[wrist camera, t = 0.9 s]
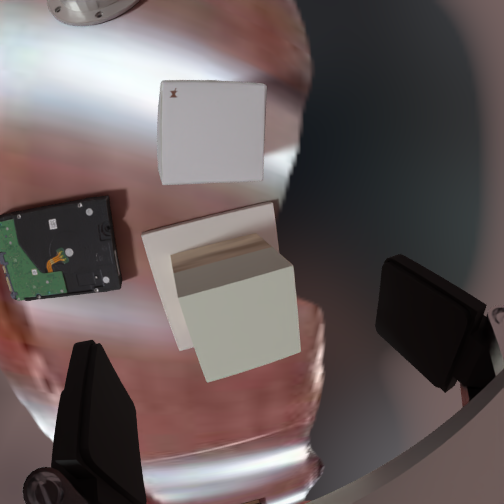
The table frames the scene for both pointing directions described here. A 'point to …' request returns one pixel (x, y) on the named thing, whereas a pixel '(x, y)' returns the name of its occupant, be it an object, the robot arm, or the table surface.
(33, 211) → the disk drive
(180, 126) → the supplement box
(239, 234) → the base board
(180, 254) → the lower block
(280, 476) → the table surface
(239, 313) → the upper block
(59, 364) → the table surface
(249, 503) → the hardcover book
